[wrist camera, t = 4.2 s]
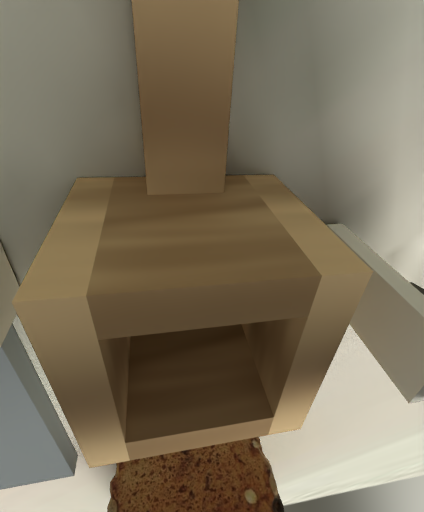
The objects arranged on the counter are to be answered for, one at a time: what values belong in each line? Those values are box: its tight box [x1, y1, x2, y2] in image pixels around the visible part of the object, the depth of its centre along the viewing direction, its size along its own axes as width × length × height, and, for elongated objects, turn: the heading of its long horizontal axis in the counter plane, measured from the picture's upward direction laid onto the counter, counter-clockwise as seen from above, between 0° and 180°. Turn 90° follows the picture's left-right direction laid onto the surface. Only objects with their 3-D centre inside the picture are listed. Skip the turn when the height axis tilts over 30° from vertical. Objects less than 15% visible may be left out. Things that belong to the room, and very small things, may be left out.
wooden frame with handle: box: [12, 0, 373, 468], centre depth 10 cm, size 18×7×6 cm, turn 177°
